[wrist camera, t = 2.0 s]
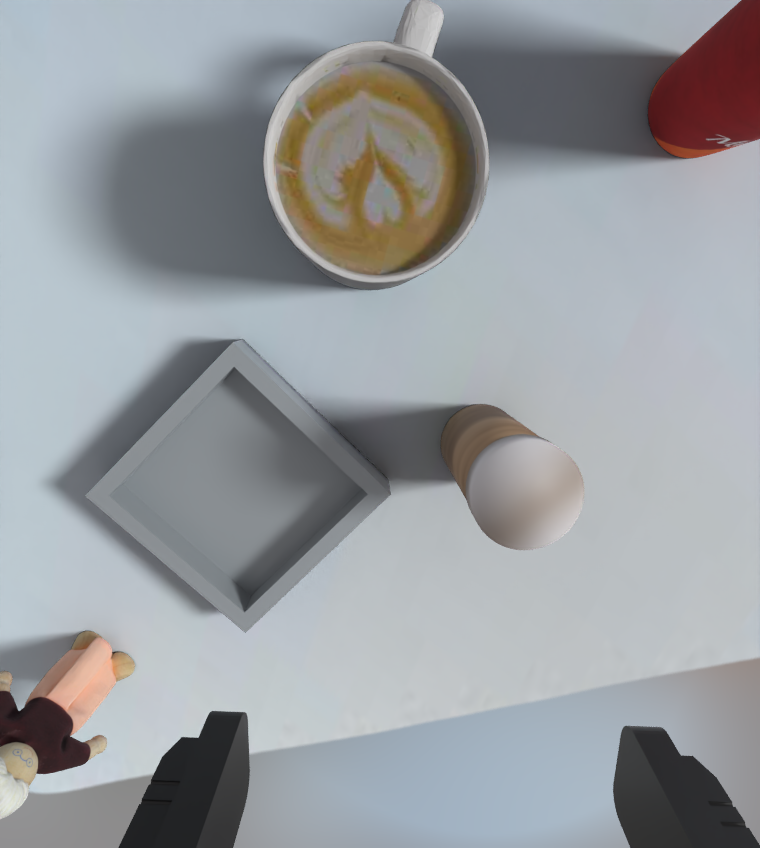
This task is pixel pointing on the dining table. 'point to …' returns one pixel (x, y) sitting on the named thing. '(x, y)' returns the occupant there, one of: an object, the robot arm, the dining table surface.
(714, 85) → the paper cup
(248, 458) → the stoneware tray
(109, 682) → the grandmother figurine
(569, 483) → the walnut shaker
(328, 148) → the coffee mug
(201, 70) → the dining table surface
